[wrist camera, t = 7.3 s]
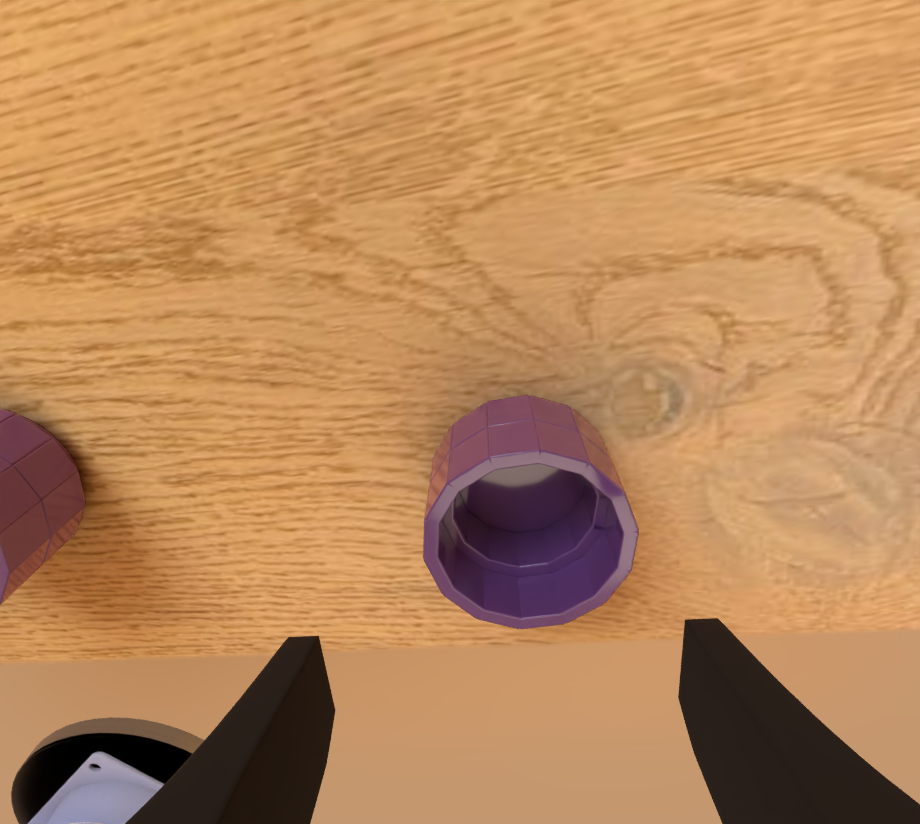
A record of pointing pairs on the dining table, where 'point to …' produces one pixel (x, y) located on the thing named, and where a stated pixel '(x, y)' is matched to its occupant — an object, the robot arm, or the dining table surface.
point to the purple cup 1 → (33, 499)
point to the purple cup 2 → (527, 515)
